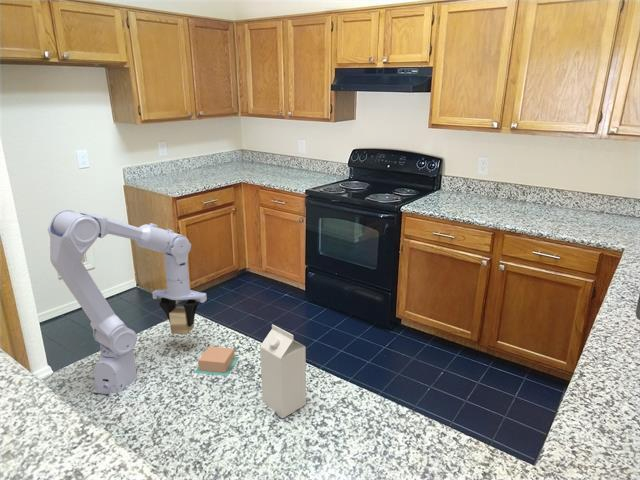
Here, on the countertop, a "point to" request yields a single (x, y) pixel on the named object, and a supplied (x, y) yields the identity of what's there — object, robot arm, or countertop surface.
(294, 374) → the milk carton
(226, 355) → the base block
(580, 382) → the countertop surface
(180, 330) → the maple block
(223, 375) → the board
